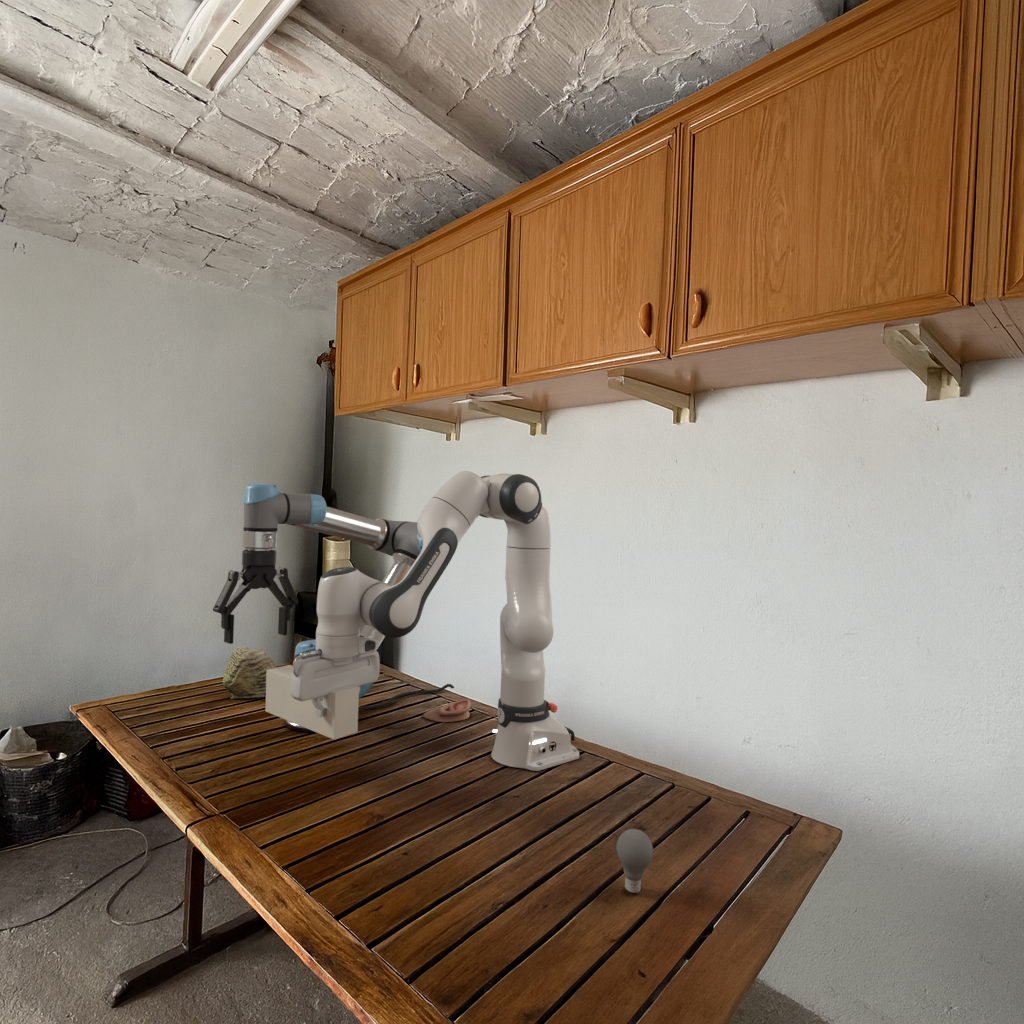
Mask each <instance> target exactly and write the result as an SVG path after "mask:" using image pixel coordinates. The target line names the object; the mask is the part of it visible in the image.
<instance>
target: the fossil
mask: <svg viewBox="0 0 1024 1024" xmlns="http://www.w3.org/2000/svg"><path fill="white" fill-rule="evenodd" d="M273 668H277V665H276V663H275V662H274V660H273V659H272V658H271V657H270V656H269V655H268V654H267V653H266V652H265V650H264V649H263V648H260V647H258V648H251V647H247V646H246V647H245V646H238V647H237V648H236V649H235V650H233V651H232V653H231V656H230V657H229V659H228V660H227V663H226V666H225V668H224V671H223V675H222V676H223V677H222V685H223V687H224V688H225V690H226V691H228V693H229V698H230V699H250V698H264V697H265V698H266V670H268V669H273Z"/></svg>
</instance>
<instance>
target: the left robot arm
mask: <svg viewBox="0 0 1024 1024" xmlns="http://www.w3.org/2000/svg"><path fill="white" fill-rule="evenodd" d="M279 525H287V526H293V527H297V528H301V529H304V530H308V531H313V532H316V533H319V534H324V535H327V536H332V537H336V538H339V539H344V540H347V541H352V542H355V543H359V544H363V545H366V546H367V547H368V549H370V550H373V551H376V552H379V553H383V554H384V555H388V556H391V557H392V559H393V560H392V561H393V564H392V565H391V566H390V568H389V570H388V571H387V572H386V575H385V576H384V578H383V579H382V580H381V581H382V582H385V583H388V584H391V585H396V584H398V583H399V582H400V581H401V580H402V579H403V578H404V577H405V575H406V574H407V572H408V571H409V569H410V568H411V566H412V565H413V563H414V562H415V560H416V559H417V557H418V556H419V554H420V553H421V550H422V547H423V541H422V539H421V537H420V535H419V533H418V529H417V521H408V520H407V521H406V520H405V521H404V520H390V519H384V518H382V517H377V518H374V519H373V518H368V517H365V516H362V515H358V514H355V513H351V512H348V511H344V510H341V509H337V508H334V507H330V506H327V502H326V500H325V497H323V496H322V495H320V494H314V493H313V494H312V493H295V492H294V493H293V492H291V493H290V492H287V493H286V492H281V491H280V486H279V485H277V484H271V483H268V484H267V483H248V484H247V485H246V486H245V489H244V497H243V530H242V547H243V548H244V549H243V550H242V554H241V566H242V568H241V571H236V570H229V571H228V574H227V580H226V582H225V584H224V586H223V588H222V589H221V592H220V594H219V595H218V598H217V600H216V601H215V604H214V606H213V608H212V611H213V612H215V613H217V614H220V617H221V619H220V620H221V621H220V623H221V624H220V625H221V626H220V627H221V629H223V630H224V633H223V642H224V643H226V644H229V645H232V644H234V629H235V614H232V613H233V611H234V610H235V609H236V607H237V606H238V605H239V604H240V603H241V601H242V600H243V599H244V597H245V596H246V595H247V594H248V593H249V592H250V591H251V590H258V589H268V590H269V591H270V592H271V594H272V595H273V596H274V597H275V599H276V600H277V601H278V602H279V603H280V605H281V606H280V607H279V606H278V625H277V626H278V627H277V634H278V635H280V636H288V622H289V621H291V610H292V609H293V608H294V606H295V605H298V604H299V599H298V597H297V595H296V592H295V590H294V587H293V585H292V583H291V580H290V578H289V571H288V568H286V567H282V566H281V567H278V568H276V565H277V553H278V551H277V550H276V548H277V544H278V529H279V528H278V526H279ZM276 577H277V578H278V581H279V583H280V585H281V587H282V589H283V591H282V590H281V589H280V587H279V585H278V584H277V583H276V581H275V580H274V579H275V578H276ZM241 579H242V581H241V582H240V584H239V585H238V581H240V580H241ZM237 585H238V588H237V589H236V586H237ZM235 589H236V591H234V590H235ZM233 592H234V593H233ZM360 635H361V636H364V637H368V638H371V639H375V640H377V641H378V642H379V647H380V646H381V644H382V642H383V640H384V639H385V637H386V636H384V635H383V634H381V633H380V632H379V631H378V630H376V629H375V628H373V627H371V626H369V625H363V626H361V628H360ZM314 650H316V639H308V640H303V641H300V642H297V644H296V646H295V650H294V655H293V657H294V660H295V659H296V658H297V657H298V656H299V655H300V654H301V653H304V652H311V651H314ZM377 650H378V649H377ZM377 650H376V651H377ZM377 652H378V651H377ZM299 659H301V658H299ZM373 685H374V682H372V683H368V684H365V685H361V686H360V692H359V699H361V698H362V697H364V696H366V695H367V693H368V692H369V691H370V690H371V689H372V687H373ZM447 688H450V689H455V686H454V685H453V684H451V683H447V684H444V685H443V686H441V687H440V688H437V689H423V690H412V691H407V692H401V693H398V694H396V695H394V696H392V697H391V698H390V699H388V700H387V701H385V702H381V703H378V704H377V703H376V704H373V705H365V706H358V711H367V710H373V709H379V708H382V707H385V706H388V705H390V704H391V703H392V702H393V701H395V700H396V699H400V698H403V697H406V696H410V695H419V694H434V693H440V692H442V691H444V690H445V689H447ZM285 726H286V728H287V729H289V730H291V731H294V732H295V731H296V732H301V733H315V732H314V731H312V730H309V729H307V728H305V727H302V726H300V725H297V724H295V723H292V722H290V721H288V720H285Z"/></svg>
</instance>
